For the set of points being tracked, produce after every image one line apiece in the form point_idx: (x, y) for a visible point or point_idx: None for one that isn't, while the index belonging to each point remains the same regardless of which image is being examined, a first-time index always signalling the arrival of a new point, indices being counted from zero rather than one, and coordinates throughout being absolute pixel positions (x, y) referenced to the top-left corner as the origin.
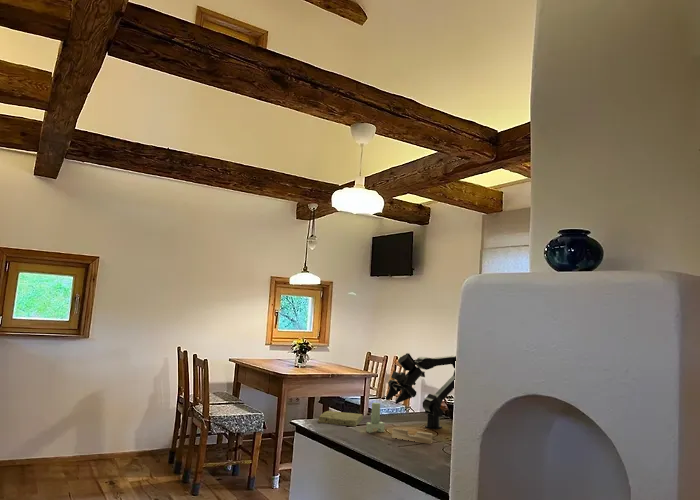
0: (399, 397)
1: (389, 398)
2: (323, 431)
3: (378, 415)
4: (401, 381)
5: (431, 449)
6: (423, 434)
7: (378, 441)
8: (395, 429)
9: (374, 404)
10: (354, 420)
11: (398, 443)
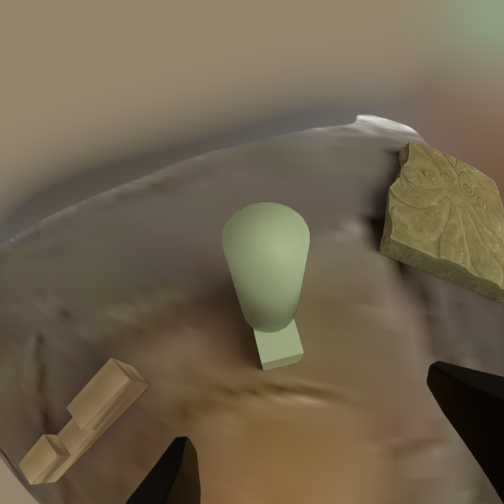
0: (133, 494)
1: (445, 411)
2: (274, 145)
3: (238, 298)
4: None
5: (3, 420)
6: (31, 450)
7: (101, 288)
8: (100, 369)
9: (233, 219)
10: (393, 234)
11: (62, 353)
